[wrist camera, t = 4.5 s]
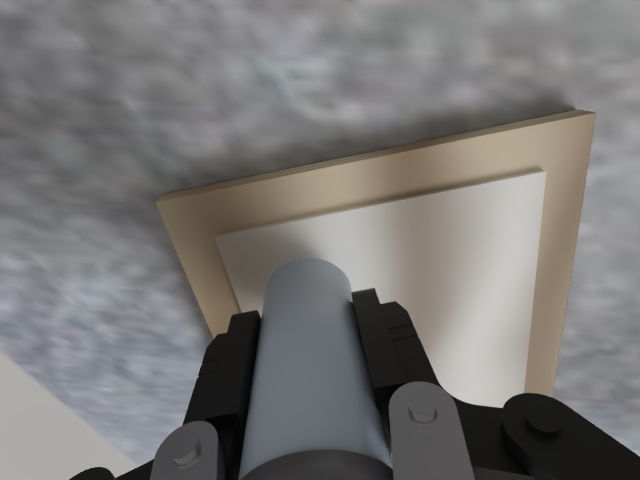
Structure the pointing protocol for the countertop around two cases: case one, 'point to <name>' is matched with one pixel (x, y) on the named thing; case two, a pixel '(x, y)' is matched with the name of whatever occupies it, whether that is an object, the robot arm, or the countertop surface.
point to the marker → (312, 384)
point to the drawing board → (415, 243)
